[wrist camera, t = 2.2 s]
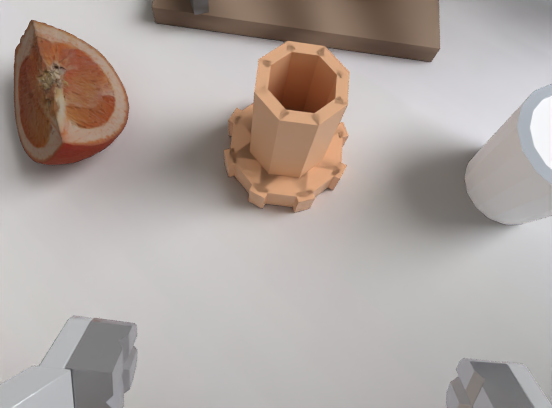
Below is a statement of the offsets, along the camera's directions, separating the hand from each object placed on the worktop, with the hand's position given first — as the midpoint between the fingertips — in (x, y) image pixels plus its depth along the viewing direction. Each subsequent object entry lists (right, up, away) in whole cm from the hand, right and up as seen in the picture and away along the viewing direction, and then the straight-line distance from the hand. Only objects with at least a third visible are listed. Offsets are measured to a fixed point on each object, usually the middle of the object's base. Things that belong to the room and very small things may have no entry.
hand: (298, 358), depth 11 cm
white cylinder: (+15, +5, +19) cm, 25 cm away
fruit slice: (-13, +9, +18) cm, 24 cm away
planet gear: (0, +7, +18) cm, 19 cm away
